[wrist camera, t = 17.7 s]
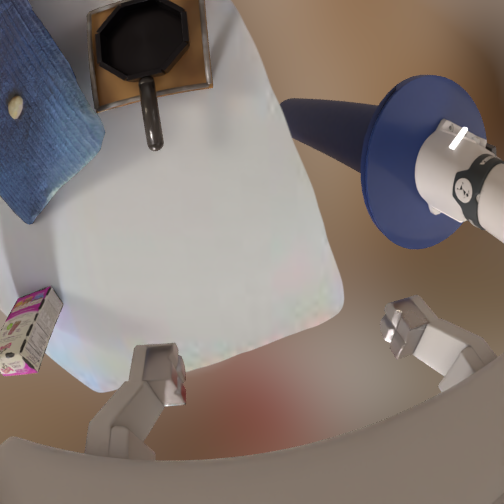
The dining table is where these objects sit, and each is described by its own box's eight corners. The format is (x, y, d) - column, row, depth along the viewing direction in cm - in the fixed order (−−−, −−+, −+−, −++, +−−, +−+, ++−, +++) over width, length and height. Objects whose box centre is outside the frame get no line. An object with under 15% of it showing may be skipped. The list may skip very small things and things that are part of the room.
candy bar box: (31, 315, 43) (4, 377, 29) (17, 297, 40) (-15, 358, 26) (66, 305, 43) (38, 374, 29) (51, 284, 40) (17, 353, 26)
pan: (185, -3, 20) (184, -12, 18) (201, 140, 30) (201, 143, 28) (102, 18, 19) (94, 12, 17) (120, 157, 29) (113, 162, 27)
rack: (202, -4, 23) (203, -17, 19) (211, 89, 31) (213, 87, 27) (98, 20, 22) (85, 11, 18) (106, 111, 29) (93, 113, 25)
